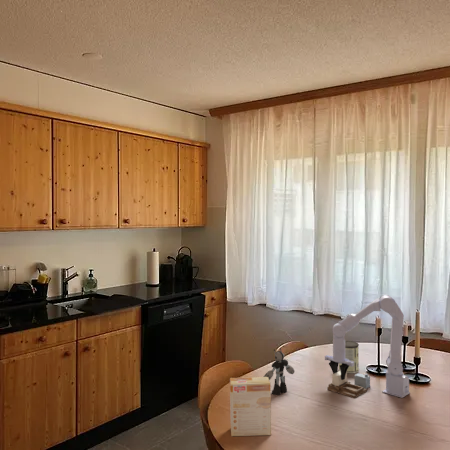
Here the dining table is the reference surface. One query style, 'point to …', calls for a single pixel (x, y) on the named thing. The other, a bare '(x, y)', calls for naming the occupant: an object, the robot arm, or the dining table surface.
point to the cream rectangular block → (338, 378)
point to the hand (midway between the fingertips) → (339, 378)
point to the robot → (279, 372)
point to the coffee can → (352, 356)
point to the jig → (347, 389)
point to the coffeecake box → (250, 406)
